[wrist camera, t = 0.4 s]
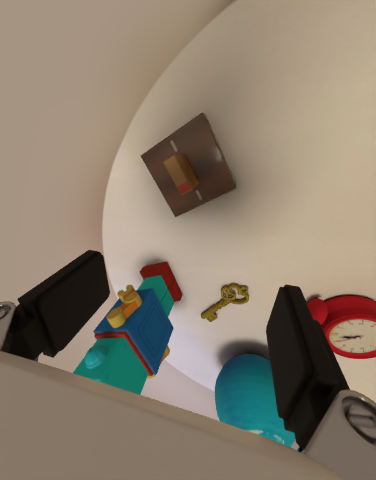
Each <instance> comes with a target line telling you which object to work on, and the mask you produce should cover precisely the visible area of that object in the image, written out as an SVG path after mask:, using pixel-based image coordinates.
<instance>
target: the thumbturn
mask: <svg viewBox="0 0 376 480" xmlns="http://www.w3.org/2000/svg"><path fill="white" fill-rule="evenodd" d="M163 163H164V165H165V166H166V168H167V170H168V172H169V174H170V176H171V177H172V179H173V181H174V183H175V185H176V187H177V189H178V190H179V192H180V194H181V196H182V195H184V194H186V193H188V192H190V191H192V190H193V189H194V188H195V187H196V186H197V185H198V184H199V182H198V180H197V178H196V176H195V174H194V172H193V170H192V168H191V166H190V164H189V162H188V160H187V158H186V156H185V154H178V155H173V156H172V157H170V158H169V159H167V160H165V161H164V162H163Z"/></svg>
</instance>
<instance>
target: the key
mask: <svg viewBox="0 0 376 480" xmlns="http://www.w3.org/2000/svg"><path fill="white" fill-rule="evenodd" d="M232 288H236V289H237V290H238V295H243V296H245V298H243V299H235V298H236V294H235V293H234V292H231V291H230V290H231V289H232ZM242 289H246V291H243V290H242ZM225 290H226V296H224V294H223V293H224V291H225ZM247 292H248V288H247V287H246V286H242V287H240V286H239V285H238V284H235V283H232V284H230V285H229V286H228V287H223V288H222V290H221V296H222V300H221V301H220V303H216V305H213V306H211V307H210V308H209V310H208V311H206V312H205V313H202V314H201V317H202V318H203V319H205V318H206V319H207V320H209V321H210V322H212V321H213V320H215V319H217V316H216V315H215V314H214V312H216V311H218V309H221V307H224V306H226V305H227V304H229V302H230V303H233V304H244V303H246V302H248V300H249V295H248V293H247ZM229 294H231V295H233V296H232V297H229Z"/></svg>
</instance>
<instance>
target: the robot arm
mask: <svg viewBox="0 0 376 480" xmlns="http://www.w3.org/2000/svg"><path fill="white" fill-rule="evenodd" d="M109 294H110V290H109V285H108V280H107V274H106V269H105V263H104V257H103V255H101V253H100V252H97V251H92V250H88V251H86V252H85V253H84V254H82V255H81V256H79V257H78V258H76V259H75V260H73V261H72V262H71V263H69V264H68V265H66V266H65V267H63V268H62V269H60V270H59V271H58V272H56V273H55V274H53V275H52V276H50V277H49V278H48V279H46V280H44V281H43V282H41V283H40V284H39V285H37V286H36V287H34V288H33V289H31V290H30V291H28V292H27V293H26V294H24V295H23V296H21V297H20V298H18V301H19V303H20V304H19V305H18V306H17V307H16V305H15V304H14V303H12V302H0V480H376V403H375V402H374V401H372V400H371V399H369V398H368V397H366V396H365V395H363V394H361V393H358V392H356V391H352V390H350V388H349V386H348V384H347V382H346V380H345V377H344V375H343V373H342V371H341V369H340V366H339V364H338V362H337V360H336V358H335V355H334V353H333V351H332V349H331V346H330V344H329V342H328V340H327V338H326V335H325V333H324V331H323V329H322V327H321V325H320V323H319V322H318V321H317V320H314V319H313V317H312V315H311V312H310V310H309V308H308V305H307V303H306V301H305V298H304V296H303V294H302V291H301V289H300V287H297V286H291V285H285V286H284V287H280V288H279V291H278V294H277V297H276V300H275V303H274V306H273V309H272V312H271V315H270V318H269V321H268V324H267V329H266V335H267V342H268V349H269V356H270V363H271V370H272V377H273V384H274V391H275V398H276V406H277V412H278V416H279V418H282V419H283V422H284V428H285V430H287V431H290V432H293V433H294V434H295V439H296V443H297V444H298V445H299V448H298V449H297V450H295V449H293V448H290V447H288V446H286V445H283V444H281V443H278V442H276V441H273V440H271V439H268V438H266V437H263V436H260V435H258V434H255V433H252V432H249V431H246V430H243V429H240V428H238V427H235V426H232V425H229V424H226V423H223V422H221V421H218V420H215V419H212V418H209V417H206V416H203V415H199V414H197V413H193V412H190V411H187V410H184V409H181V408H178V407H175V406H172V405H169V404H166V403H163V402H160V401H157V400H154V399H151V398H148V397H145V396H142V395H139V394H136V393H133V392H129V391H126V390H123V389H120V388H117V387H114V386H111V385H108V384H105V383H102V382H99V381H95V380H92V379H89V378H86V377H83V376H80V375H77V374H74V373H70V372H67V371H64V370H61V369H58V368H55V367H52V366H48V365H45V364H42V363H39V362H38V357H39V355H40V354H41V353H42V352H43V354H44V355H47V356H50V357H54V356H55V355H56V354H57V353H58V352H59V351H61V350H63V349H64V348H65V347H66V346H67V344H68V343H69V342H70V341H71V340H72V339H73V338H74V336H75V335H76V334H77V333H78V332H79V331H80V329H81V328H82V327H83V326H84V325H85V323H87V321H88V320H89V319H90V318H91V317H92V316H93V314H94V313H95V312H96V311H97V310H98V309H99V307H100V306H101V305H102V304H103V303H104V302H105V301H106V299H107V298H108V297H109Z"/></svg>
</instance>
